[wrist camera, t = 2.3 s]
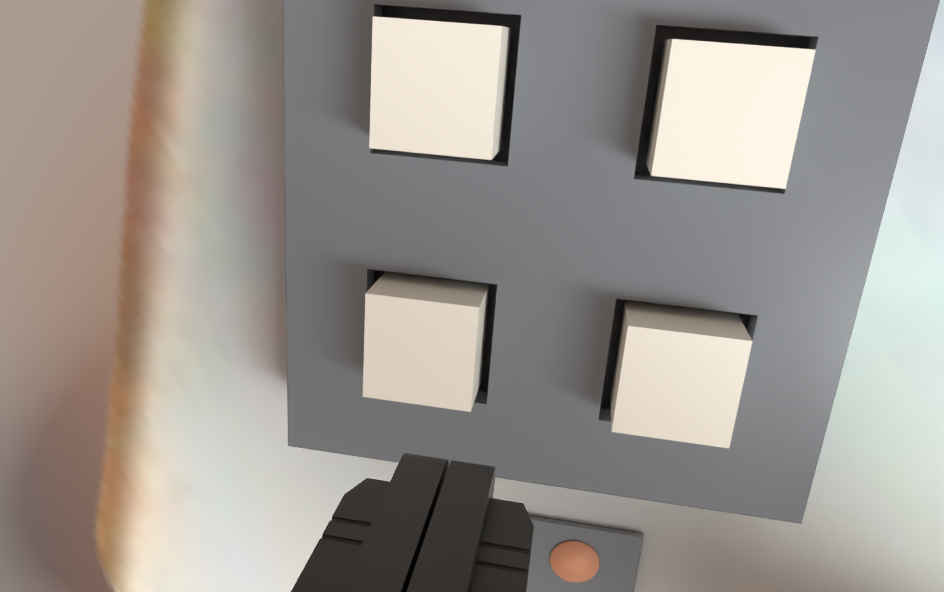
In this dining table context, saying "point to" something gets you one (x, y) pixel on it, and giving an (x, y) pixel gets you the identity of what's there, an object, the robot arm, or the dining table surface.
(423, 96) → the button
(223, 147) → the dining table surface
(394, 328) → the button
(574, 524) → the pattern card
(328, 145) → the button box
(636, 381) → the button
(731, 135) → the button
